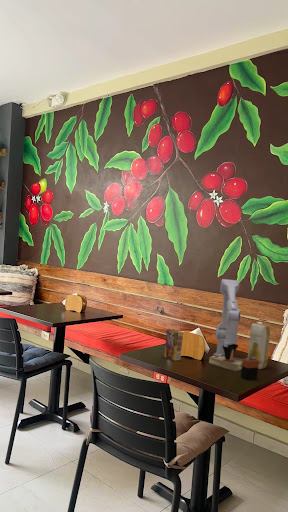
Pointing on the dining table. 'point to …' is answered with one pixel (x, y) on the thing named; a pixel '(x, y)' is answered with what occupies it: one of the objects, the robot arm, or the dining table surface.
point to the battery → (249, 368)
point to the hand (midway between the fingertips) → (229, 358)
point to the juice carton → (259, 343)
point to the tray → (220, 362)
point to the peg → (230, 357)
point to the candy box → (173, 344)
